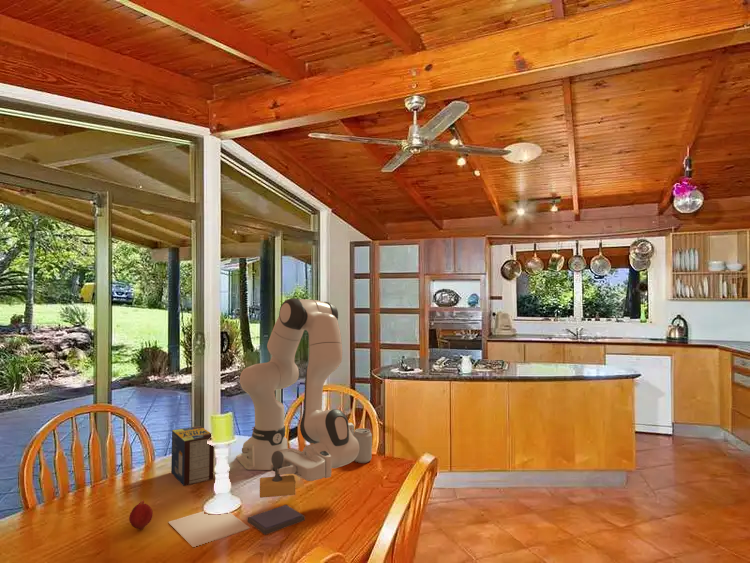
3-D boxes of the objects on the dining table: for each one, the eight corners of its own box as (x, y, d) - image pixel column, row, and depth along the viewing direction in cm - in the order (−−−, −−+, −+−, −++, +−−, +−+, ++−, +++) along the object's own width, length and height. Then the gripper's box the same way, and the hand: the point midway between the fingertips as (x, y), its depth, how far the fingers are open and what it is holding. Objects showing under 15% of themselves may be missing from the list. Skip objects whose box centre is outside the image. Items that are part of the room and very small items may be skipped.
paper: (167, 522, 140) (167, 521, 140) (221, 506, 151) (221, 505, 151) (193, 548, 127) (193, 547, 127) (249, 528, 137) (249, 527, 137)
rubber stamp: (259, 498, 138) (260, 455, 138) (259, 490, 144) (260, 449, 144) (295, 495, 140) (295, 453, 141) (293, 487, 146) (294, 446, 146)
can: (369, 464, 189) (369, 433, 189) (350, 462, 190) (350, 431, 191) (373, 458, 196) (373, 428, 197) (355, 456, 198) (355, 426, 198)
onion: (127, 535, 132) (127, 506, 132) (131, 525, 138) (132, 497, 138) (150, 533, 134) (151, 503, 134) (153, 523, 140) (154, 495, 140)
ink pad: (247, 521, 141) (247, 516, 141) (286, 508, 150) (286, 503, 150) (265, 534, 134) (265, 529, 134) (304, 520, 143) (304, 515, 143)
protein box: (199, 466, 184) (200, 425, 184) (213, 479, 172) (214, 435, 172) (170, 472, 178) (171, 429, 178) (183, 486, 166) (184, 440, 166)
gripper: (295, 440, 159) (257, 450, 149) (334, 457, 144) (294, 468, 134) (295, 460, 159) (256, 470, 149) (334, 478, 144) (294, 491, 134)
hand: (274, 469), depth 142 cm, fingers closed on rubber stamp, 2 cm apart
